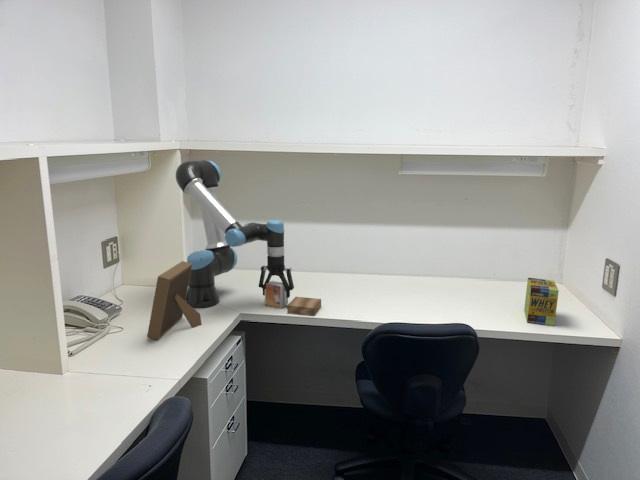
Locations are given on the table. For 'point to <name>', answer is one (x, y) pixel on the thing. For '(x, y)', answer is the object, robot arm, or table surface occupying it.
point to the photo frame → (172, 301)
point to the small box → (275, 294)
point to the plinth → (304, 306)
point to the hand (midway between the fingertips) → (276, 303)
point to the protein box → (541, 301)
